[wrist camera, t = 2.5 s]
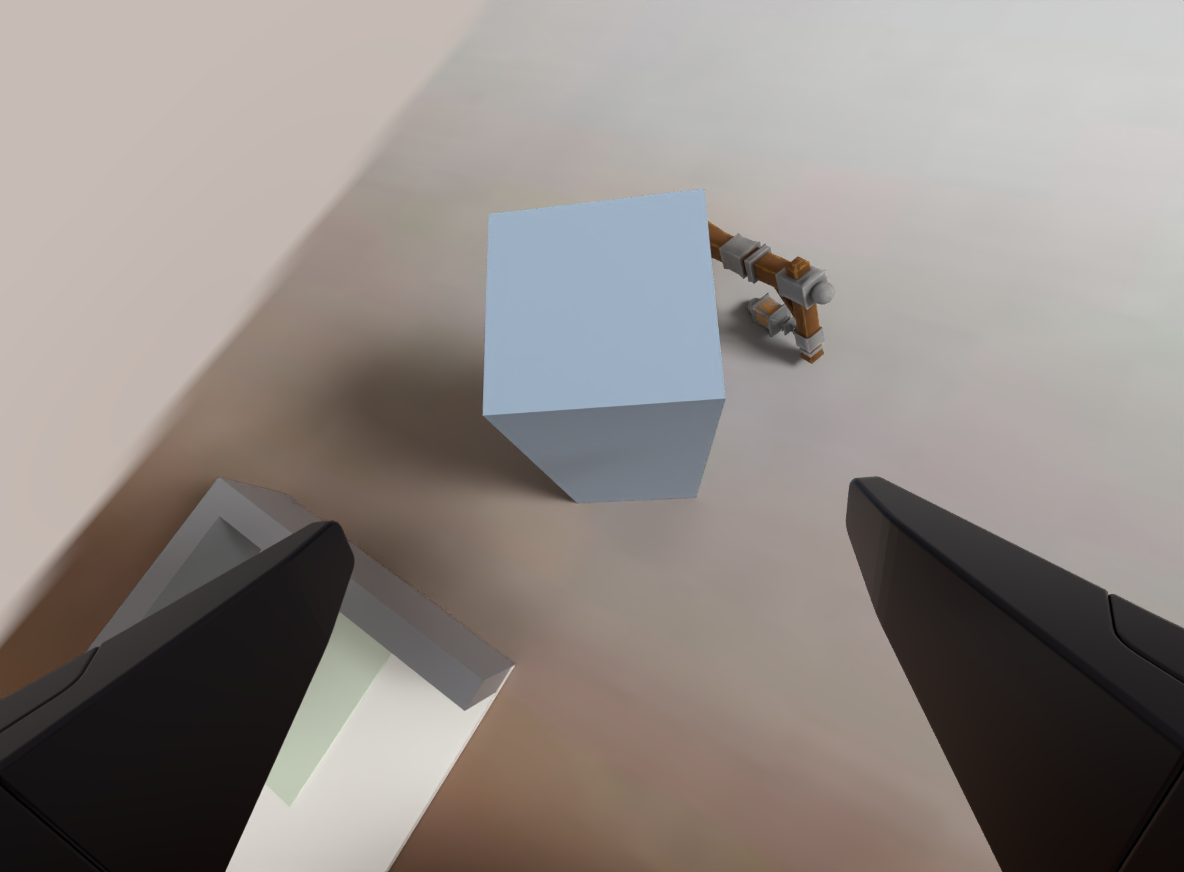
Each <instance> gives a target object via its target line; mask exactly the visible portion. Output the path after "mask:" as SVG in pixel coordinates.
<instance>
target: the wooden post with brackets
mask: <svg viewBox="0 0 1184 872" xmlns="http://www.w3.org/2000/svg"><path fill="white" fill-rule="evenodd" d="M708 230H709V240H710V250H711V258H714V259H716V260H718V261H721V262H722V263H723V267H724V269H730V270H732V271H733V272H735V273H737V274H739V275H740V276H741V277H742V278H743V279H744V278H745V277H748V281H749V282H753V283H756V282H757V281H758V280H759V281H762V282H764V283H766V284H768V285H771V286H773V287H774V288H775V290H776V291H777V293H778V294H779V296H780V297H781V299H782V300H783V302H784V303H785V304H783V305H780V304H779V303H778V302H776V301H775V300H773V299H772V298H771V297H770V296H769V294H768V293H767V294H766V295H765V296H763V297H762V298H761V299H759V298H754V299H752V300H751V301H750V302H749V303H748V310H749V311H750V312H751V315H752V320H753V322H755V323H757V324H760V325H762V326H764V327H766V328H768V329H769V333H770V337H773V336H774V335H776V334H777V333H778V332H779V331H781V330H782V331H784V333H785V335H787V334H788V333H789V332H790V331H792V332H793V334H794V335H795V338H796V344H797V346H799V347H800V349H799V351H800V352H801V358H803V359H805V360H806V361H808V362H809V363H811V364H812V363H813V362H814V361H816V360H817V359H818V358H819V357H821V356H822V355H823V354H824V352H823V349H822V348H823V345H822V343H823V342H824V334H823V328H822V327H820V326H819V320H818V312H817V305H816V303H818V304H826V303H828V302H830V301H831V300H832V299H833V297H834V295H835V289H834V287H833V285H832V284H831V283H828V282H827V274H826V270H821V269H817V268H815V267H813V266H810V263H809V261H807V260H804V259H802V258H800V257H797V258H795V259H794V260H793V261H792V262H790V261H787V260H785V259H783V258H781V257H779V256H776V255H774V254H772V253H771V248H770V247H768V246H766V244H764V245H763V246H762V247H761V246H760V242H756V241H752V240H749V239H747V238H744V237H742V236H741V235H740V234H739V233H738V234H737V235H736V236H731V235H729V234H727V233H725V232H723V231H722V230H721V229H719V228H718V227H716V226H715V225H713V224H712V223H710V222H709V221H708ZM791 313H792V315H793V316H794V317H792V318H791ZM794 328H795V329H794ZM793 329H794V330H793Z"/></svg>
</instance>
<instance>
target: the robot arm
mask: <svg viewBox="0 0 1184 872" xmlns="http://www.w3.org/2000/svg"><path fill="white" fill-rule="evenodd" d="M846 527H847V532H848V535H849V538H850V541H851V544H852V547H853V550H854V553H855V555H856V558H857V561H858V564H859V567H860V570H861V573H862V576H863V578H864V581H865V584H866V587H867V590H868V593H869V596H870V598H871V601H872V604H873V607H874V609H875V612H876V614H877V617H878V619H879V621H880V623H881V625H882V628H883V630H884V632H885V634H886V636H887V638H888V640H889V642H890V644H891V646H892V648H893V650H894V652H895V654H896V656H897V658H898V660H899V662H900V664H901V666H902V668H903V670H904V673H905V675H906V677H907V679H908V681H909V683H910V685H911V687H912V689H913V691H914V693H915V695H916V697H917V699H918V701H919V703H920V705H921V707H922V709H923V711H924V713H925V715H926V717H927V719H928V721H929V723H930V725H931V728H932V730H933V732H934V734H935V736H936V738H937V740H938V742H939V744H940V746H941V748H942V750H943V752H944V754H945V756H946V758H947V760H948V762H949V764H950V766H951V768H952V770H953V772H954V774H955V776H956V778H957V780H958V783H959V785H960V787H961V789H962V791H963V793H964V795H965V797H966V799H967V801H968V803H969V805H970V807H971V809H972V811H973V813H974V815H975V817H976V819H977V821H978V823H979V825H980V827H981V829H982V831H983V833H984V835H985V838H986V840H987V842H988V844H989V846H990V848H991V850H992V852H993V854H994V856H995V858H996V860H997V862H998V864H999V866H1000V868H1001V870H1002V872H1184V628H1182V627H1180V626H1178V625H1176V624H1174V623H1172V622H1170V621H1168V620H1166V619H1164V618H1162V617H1160V616H1157V615H1155V614H1153V613H1151V612H1149V611H1147V610H1145V609H1143V608H1141V607H1139V606H1137V605H1135V604H1133V603H1131V602H1129V601H1127V600H1125V599H1123V598H1121V597H1119V596H1117V595H1115V594H1110V595H1109V596H1108V592H1107V591H1106V590H1105V589H1103V588H1101V587H1099V586H1097V585H1095V584H1093V583H1091V582H1089V581H1087V580H1085V579H1083V578H1081V577H1079V576H1077V575H1075V574H1073V573H1071V572H1069V571H1067V570H1065V569H1063V568H1061V567H1059V566H1057V565H1055V564H1053V563H1051V562H1049V561H1047V560H1045V559H1043V558H1041V557H1039V556H1037V555H1035V554H1033V553H1031V552H1029V551H1027V550H1025V549H1023V548H1021V547H1019V546H1017V545H1015V544H1013V543H1011V542H1009V541H1007V540H1005V539H1003V538H1001V537H999V536H997V535H995V534H993V533H991V532H989V531H987V530H985V529H983V528H981V527H979V526H977V525H975V524H973V523H971V522H969V521H967V520H965V519H963V518H961V517H959V516H957V515H955V514H953V513H951V512H949V511H947V510H945V509H943V508H941V507H939V506H937V505H935V504H933V503H931V502H929V501H927V500H925V499H923V498H921V497H919V496H917V495H915V494H913V493H911V492H909V491H907V490H905V489H903V488H901V487H899V486H897V485H895V484H893V483H891V482H889V481H887V480H885V479H883V478H881V477H876V476H875V477H863V478H854V479H853V480H852V481H851V483H850V485H849V492H848V503H847V513H846ZM354 564H355V558H354V554H353V551H352V549H351V547H350V545H349V543H348V540H347V538H346V536H345V534H344V532H343V530H342V527H341V526H340V524H339V523H338V522H336V521H333V520H331V521H318V522H313V523H311V524H309V525H307V526H305V527H303V528H302V529H300V530H298V531H297V532H295V533H293V534H291V535H290V536H288V537H286V538H284V539H283V540H281V541H279V542H277V543H276V544H274V545H272V546H270V547H269V548H267V549H265V550H263V551H262V552H260V553H258V554H256V555H255V556H253V557H251V558H249V559H248V560H246V561H244V562H242V563H241V564H239V565H237V566H236V567H234V568H232V569H230V570H229V571H227V572H225V573H223V574H222V575H220V576H218V577H216V578H215V579H213V580H211V581H209V582H208V583H206V584H204V585H202V586H201V587H199V588H197V589H195V590H194V591H192V592H190V593H188V594H187V595H185V596H183V597H181V598H180V599H178V600H176V601H175V602H173V603H171V604H169V605H168V606H166V607H164V608H162V609H161V610H159V611H157V612H155V613H154V614H152V615H150V616H148V617H147V618H145V619H143V620H141V621H140V622H138V623H136V624H134V625H133V626H131V627H129V628H127V629H126V630H124V631H122V632H120V633H119V634H117V635H115V636H113V637H112V638H110V639H108V640H107V641H105V642H103V643H102V644H101V645H100V647H94V648H92V649H91V650H89V651H87V652H85V653H84V654H82V655H80V656H78V657H77V658H75V659H73V660H71V661H70V662H68V663H66V664H64V665H63V666H61V667H59V668H57V669H56V670H54V671H52V672H50V673H48V674H47V675H45V676H43V677H41V678H39V679H38V680H36V681H34V682H32V683H31V684H29V685H27V686H25V687H23V688H21V689H20V690H18V691H16V692H14V693H12V694H10V695H8V696H7V697H5V698H3V699H1V700H0V872H226V869H227V867H228V865H229V863H230V860H231V858H232V856H233V854H234V852H235V849H236V847H237V845H238V843H239V841H240V838H241V836H242V834H243V832H244V829H245V827H246V825H247V823H248V821H249V818H250V816H251V814H252V812H253V810H254V807H255V805H256V803H257V801H258V798H259V796H260V794H261V792H262V790H263V787H264V785H265V783H266V781H267V779H268V776H269V774H270V772H271V770H272V767H273V765H274V763H275V761H276V759H277V756H278V754H279V752H280V750H281V747H282V745H283V743H284V741H285V739H286V736H287V734H288V732H289V730H290V728H291V725H292V723H293V721H294V719H295V716H296V714H297V712H298V710H299V708H300V705H301V703H302V701H303V699H304V697H305V694H306V692H307V690H308V688H309V685H310V683H311V681H312V679H313V677H314V674H315V672H316V670H317V668H318V665H319V663H320V661H321V659H322V657H323V654H324V652H325V650H326V647H327V645H328V643H329V640H330V637H331V634H332V632H333V629H334V626H335V623H336V620H337V617H338V614H339V611H340V608H341V605H342V602H343V599H344V596H345V593H346V590H347V587H348V584H349V581H350V578H351V575H352V572H353V569H354Z"/></svg>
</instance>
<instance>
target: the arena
mask: <svg viewBox="0 0 1184 872" xmlns="http://www.w3.org/2000/svg"><path fill="white" fill-rule="evenodd" d="M318 521H322V520H321V519H319V518H318V517H317V516H315V515H314V514H313V513H311V512H310V511H308V510H307V509H306V508H304V507H303V506H302V505H300V504H299V503H298V502H296V501H295V500H294V499H292V498H291V497H290V496H288V495H287V494H285V493H281V492H277V491H273V490H269V489H265V488H261V487H257V486H253V485H249V484H245V483H241V482H237V481H233V480H229V479H225V478H221V477H218V479H217V480H216V481H215V483H214V484H213V485H212V487H211V488H210V489H209V491H208V492H207V493H206V494H205V496H204V497H203V498H202V500H201V501H200V502H199V504H198V505H197V506H196V508H195V509H194V510H193V512H192V513H191V514H190V515H189V517H188V518H187V519H186V521H185V522H184V523H183V525H182V526H181V527H180V529H179V530H178V531H177V533H176V534H175V535H174V536H173V538H172V539H171V540H170V542H169V543H168V544H167V546H166V547H165V548H164V550H163V551H162V552H161V554H160V555H159V556H158V558H157V559H156V560H155V561H154V563H153V564H152V565H151V567H150V568H149V569H148V571H147V572H146V573H145V575H144V576H143V577H142V579H141V580H140V581H139V582H138V584H137V585H136V586H135V588H134V589H133V590H132V592H131V593H130V594H129V596H128V597H127V598H126V600H125V601H124V602H123V604H122V605H121V606H120V607H119V609H118V610H117V611H116V613H115V614H114V615H113V617H112V618H111V619H110V621H109V622H108V623H107V625H106V626H105V627H104V628H103V630H102V631H101V632H100V634H99V635H98V636H97V638H96V639H95V640H94V642H93V643H92V644H91V646H90V647H89V648H88V649H87V651H89V650H91V649H92V648H94V647H100V645H101V644H102V643H103V642H105V641H107V640H108V639H110V638H112V637H113V636H115V635H117V634H119V633H120V632H122V631H124V630H126V629H127V628H129V627H131V626H133V625H134V624H136V623H138V622H140V621H141V620H143V619H145V618H147V617H148V616H150V615H152V614H154V613H155V612H157V611H159V610H161V609H162V608H164V607H166V606H168V605H169V604H171V603H173V602H175V601H176V600H178V599H180V598H181V597H183V596H185V595H187V594H188V593H190V592H192V591H194V590H195V589H197V588H199V587H201V586H202V585H204V584H206V583H208V582H209V581H211V580H213V579H215V578H216V577H218V576H220V575H222V574H223V573H225V572H227V571H229V570H230V569H232V568H234V567H236V566H237V565H239V564H241V563H242V562H244V561H246V560H248V559H249V558H251V557H253V556H255V555H256V554H258V553H260V552H262V551H263V550H265V549H267V548H269V547H270V546H272V545H274V544H276V543H277V542H279V541H281V540H283V539H284V538H286V537H288V536H290V535H291V534H293V533H295V532H297V531H298V530H300V529H302V528H303V527H305V526H307V525H309V524H311V523H313V522H318ZM348 543H349V545H350V547H351V549H352V551H353V554H354V558H355V564H354V569H353V572H352V575H351V578H350V581H349V584H348V587H347V590H346V593H345V596H344V599H343V602H342V605H341V608H340V611H339V614H338V617H337V620H336V623H335V626H334V629H333V632H332V634H331V637H330V640H329V643H328V645H327V647H326V650H325V652H324V654H323V657H322V659H321V661H320V663H319V665H318V668H317V670H316V672H315V674H314V677H313V679H312V681H311V683H310V685H309V688H308V690H307V692H306V694H305V697H304V699H303V701H302V703H301V705H300V708H299V710H298V712H297V714H296V716H295V719H294V721H293V723H292V725H291V728H290V730H289V732H288V734H287V736H286V739H285V741H284V743H283V745H282V747H281V750H280V752H279V754H278V756H277V759H276V761H275V763H274V765H273V767H272V770H271V772H270V774H269V776H268V779H267V781H266V783H265V785H264V787H263V790H262V792H261V794H260V796H259V798H258V801H257V803H256V805H255V807H254V810H253V812H252V814H251V816H250V818H249V821H248V823H247V825H246V827H245V829H244V832H243V834H242V836H241V838H240V841H239V843H238V845H237V847H236V849H235V852H234V854H233V856H232V858H231V860H230V863H229V865H228V867H227V869H226V872H388V871H389V870H390V868H391V866H392V865H393V863H394V861H395V860H396V858H397V857H398V855H399V853H400V852H401V850H402V848H403V847H404V845H405V844H406V842H407V840H408V839H409V837H410V835H411V834H412V832H413V831H414V829H415V827H416V826H417V824H418V822H419V821H420V819H421V818H422V816H423V814H424V813H425V811H426V809H427V808H428V806H429V805H430V803H431V801H432V800H433V798H434V796H435V795H436V793H437V792H438V790H439V788H440V787H441V785H442V783H443V782H444V780H445V779H446V777H447V775H448V774H449V772H450V770H451V769H452V767H453V766H454V764H455V762H456V761H457V759H458V757H459V756H460V754H461V753H462V751H463V749H464V748H465V746H466V744H467V743H468V741H469V740H470V738H471V736H472V735H473V733H474V731H475V730H476V728H477V727H478V725H479V723H480V722H481V720H482V719H483V717H484V715H485V714H486V712H487V710H488V709H489V707H490V706H491V704H492V702H493V701H494V699H495V697H496V696H497V694H498V693H499V691H500V689H501V688H502V686H503V684H504V683H505V681H506V680H507V678H508V676H509V675H510V673H511V671H512V670H513V668H514V667H515V665H516V664H514V663H513V662H512V661H510V660H509V659H508V658H506V657H505V656H504V655H502V654H501V653H500V652H498V651H497V650H495V649H494V648H493V647H491V646H490V645H489V644H487V643H486V642H485V641H483V640H482V639H481V638H479V637H478V636H477V635H475V634H474V633H473V632H471V631H470V630H469V629H467V628H466V627H465V626H463V625H462V624H460V623H459V622H458V621H456V620H455V619H454V618H452V617H451V616H450V615H448V614H447V613H446V612H444V611H443V610H442V609H440V608H439V607H438V606H436V605H435V604H434V603H432V602H431V601H430V600H428V599H427V598H426V597H424V596H423V595H421V594H420V593H419V592H417V591H416V590H415V589H413V588H412V587H411V586H409V585H408V584H407V583H405V582H404V581H403V580H401V579H400V578H399V577H397V576H396V575H395V574H393V573H392V572H391V571H389V570H388V569H387V568H385V567H384V566H382V565H381V564H380V563H378V562H377V561H376V560H374V559H373V558H372V557H370V556H369V555H368V554H366V553H365V552H364V551H362V550H361V549H360V548H358V547H357V546H356V545H354V544H353V543H352V542H350V541H349V540H348ZM87 651H86V652H87Z"/></svg>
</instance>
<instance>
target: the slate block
mask: <svg viewBox="0 0 1184 872" xmlns="http://www.w3.org/2000/svg"><path fill="white" fill-rule="evenodd" d="M725 399H726V398H725V388H724V378H723V368H722V358H721V349H720V339H719V329H718V319H717V309H716V299H715V289H714V280H713V270H712V260H711V250H710V240H709V230H708V220H707V211H706V201H705V191H704V189H697V190H688V191H680V192H671V193H663V194H654V195H646V196H638V197H629V198H621V199H612V200H604V201H595V202H587V203H579V204H570V205H562V206H553V207H545V208H536V209H528V210H520V211H511V212H503V213H494V214H489V225H488V258H487V290H486V323H485V355H484V388H483V416H484V417H485V418H486V419H487V420H488V421H489V422H490V423H491V424H492V425H493V426H494V427H495V428H497V429H498V430H499V431H500V432H501V433H502V434H503V435H504V436H505V437H506V438H507V439H508V440H510V441H511V442H512V443H513V444H514V445H515V446H516V447H517V448H518V449H519V450H520V451H521V452H522V453H524V454H525V455H526V456H527V457H528V458H529V459H530V460H531V461H532V462H533V463H534V464H535V465H537V466H538V467H539V468H540V469H541V470H542V471H543V472H544V473H545V474H546V475H547V476H548V477H549V478H551V479H552V480H553V481H554V482H555V483H556V484H557V485H558V486H559V487H560V488H561V489H562V490H564V491H565V492H566V493H567V494H568V495H569V496H570V497H571V498H572V499H573V500H574V501H575V502H576V503H593V502H614V501H635V500H655V499H676V498H696V496H697V493H698V490H699V486H700V483H701V479H702V476H703V473H704V469H705V466H706V463H707V459H708V456H709V453H710V449H711V446H712V442H713V439H714V436H715V432H716V429H717V426H718V422H719V419H720V415H721V412H722V409H723V405H724V402H725Z"/></svg>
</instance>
